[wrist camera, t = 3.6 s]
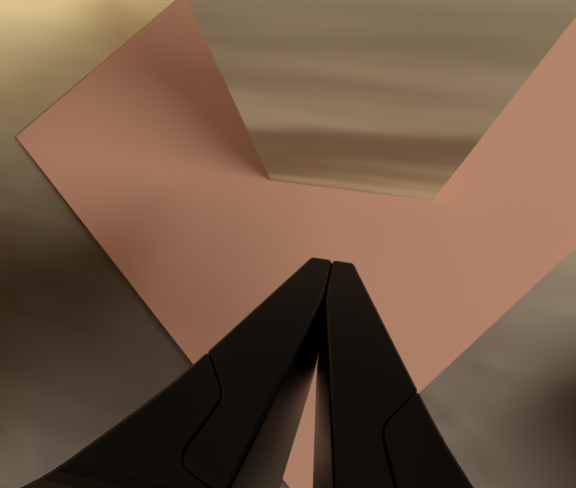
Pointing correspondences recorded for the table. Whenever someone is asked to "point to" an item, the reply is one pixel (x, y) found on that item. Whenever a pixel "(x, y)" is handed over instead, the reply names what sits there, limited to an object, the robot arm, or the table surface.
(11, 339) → the table surface
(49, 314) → the table surface
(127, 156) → the rubber mat
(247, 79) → the birch block
